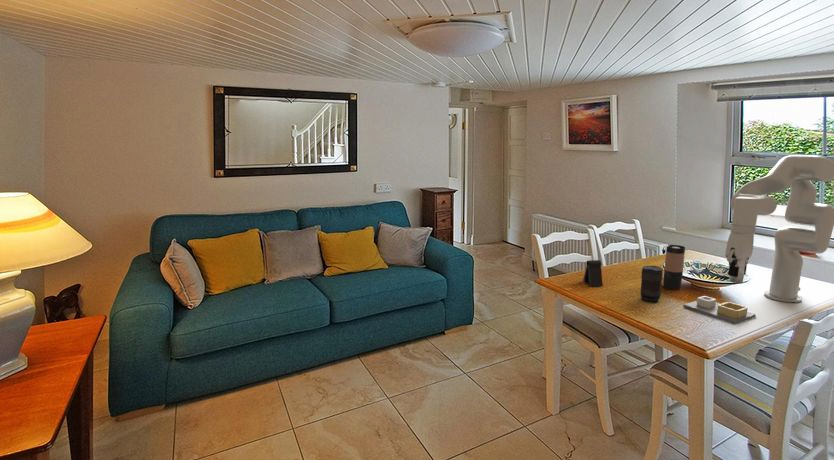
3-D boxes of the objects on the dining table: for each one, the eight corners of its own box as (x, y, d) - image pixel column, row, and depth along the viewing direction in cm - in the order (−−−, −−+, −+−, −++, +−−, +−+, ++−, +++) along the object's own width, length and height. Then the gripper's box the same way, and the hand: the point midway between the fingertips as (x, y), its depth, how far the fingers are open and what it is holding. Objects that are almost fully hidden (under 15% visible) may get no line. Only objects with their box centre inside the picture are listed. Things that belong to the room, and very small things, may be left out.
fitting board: (703, 301, 190) (704, 292, 189) (755, 317, 172) (756, 307, 171) (683, 307, 184) (684, 297, 183) (734, 324, 166) (736, 314, 165)
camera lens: (641, 295, 198) (644, 264, 195) (661, 299, 193) (664, 267, 190) (637, 301, 192) (640, 268, 189) (657, 305, 187) (661, 271, 184)
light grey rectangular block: (733, 279, 174) (736, 254, 172) (745, 282, 170) (748, 257, 168) (726, 280, 172) (729, 256, 170) (738, 284, 168) (742, 258, 166)
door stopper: (582, 281, 220) (584, 258, 217) (594, 280, 220) (595, 257, 217) (590, 287, 211) (592, 263, 208) (602, 286, 211) (604, 262, 209)
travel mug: (683, 290, 203) (688, 248, 199) (665, 289, 205) (669, 248, 201) (677, 285, 211) (681, 244, 207) (660, 284, 212) (664, 244, 208)
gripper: (744, 225, 173) (738, 269, 177) (719, 229, 166) (713, 275, 170) (766, 228, 167) (759, 274, 170) (740, 233, 160) (734, 281, 163)
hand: (736, 274), depth 170 cm, fingers closed on light grey rectangular block, 4 cm apart
